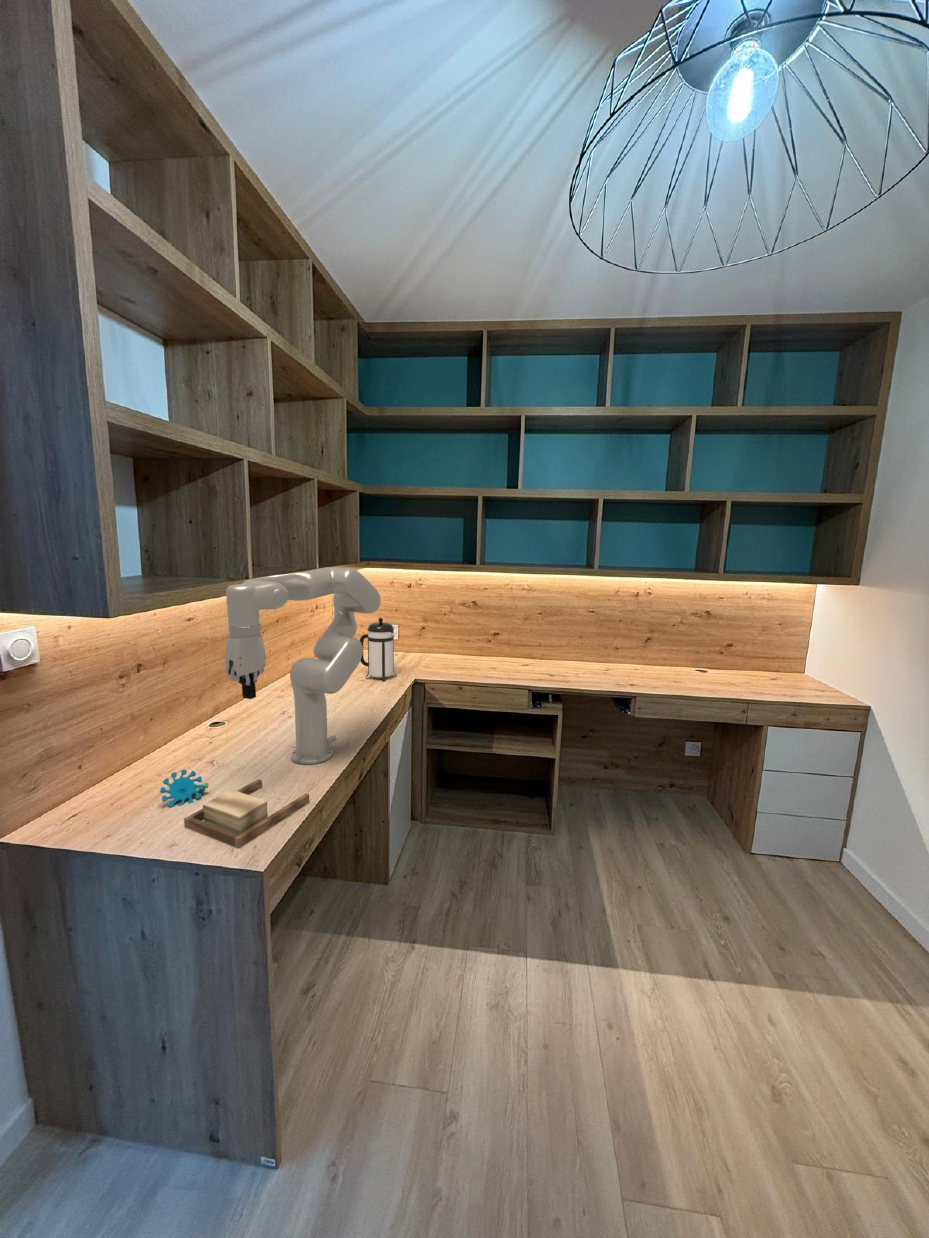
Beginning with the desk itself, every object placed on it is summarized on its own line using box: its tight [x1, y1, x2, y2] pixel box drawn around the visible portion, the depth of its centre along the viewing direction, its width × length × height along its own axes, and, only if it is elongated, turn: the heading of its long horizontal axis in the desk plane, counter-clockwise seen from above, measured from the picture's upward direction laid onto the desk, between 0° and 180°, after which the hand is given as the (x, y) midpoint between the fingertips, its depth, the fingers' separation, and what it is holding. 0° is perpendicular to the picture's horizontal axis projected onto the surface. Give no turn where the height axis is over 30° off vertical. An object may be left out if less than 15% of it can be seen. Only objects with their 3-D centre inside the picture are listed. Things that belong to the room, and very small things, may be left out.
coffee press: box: [359, 617, 397, 682], centre depth 247 cm, size 17×16×30 cm
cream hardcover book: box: [202, 789, 269, 835], centre depth 121 cm, size 8×12×5 cm
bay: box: [183, 778, 310, 849], centre depth 125 cm, size 22×18×3 cm
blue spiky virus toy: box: [159, 769, 210, 808], centre depth 132 cm, size 11×6×10 cm
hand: (249, 697), depth 136 cm, fingers closed
